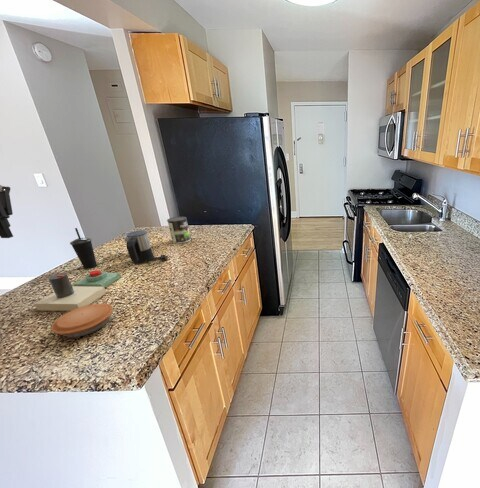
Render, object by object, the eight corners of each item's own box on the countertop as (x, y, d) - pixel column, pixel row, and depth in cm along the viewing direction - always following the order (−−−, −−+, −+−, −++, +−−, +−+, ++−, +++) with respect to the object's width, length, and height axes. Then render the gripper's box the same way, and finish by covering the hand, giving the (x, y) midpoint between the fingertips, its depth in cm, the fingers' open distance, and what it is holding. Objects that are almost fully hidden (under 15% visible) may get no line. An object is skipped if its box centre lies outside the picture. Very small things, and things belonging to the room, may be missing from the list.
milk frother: (135, 257, 137) (127, 231, 131) (169, 252, 144) (162, 226, 138) (130, 269, 125) (121, 240, 120) (168, 262, 132) (161, 235, 126)
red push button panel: (74, 288, 109) (71, 280, 107) (95, 276, 118) (92, 269, 117) (102, 288, 109) (99, 280, 107) (120, 277, 118) (118, 269, 116)
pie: (49, 330, 85) (42, 318, 83) (106, 306, 97) (101, 295, 95) (63, 350, 77) (57, 336, 75) (123, 321, 89) (119, 309, 87)
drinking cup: (100, 261, 133) (86, 224, 125) (100, 267, 127) (86, 228, 120) (80, 266, 128) (65, 227, 121) (80, 271, 123) (63, 232, 115)
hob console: (37, 310, 95) (33, 303, 94) (68, 292, 106) (65, 285, 105) (79, 311, 95) (76, 303, 93) (106, 293, 106) (103, 286, 105)
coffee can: (194, 238, 164) (190, 216, 159) (183, 244, 155) (178, 221, 150) (179, 237, 166) (175, 216, 161) (168, 243, 156) (162, 220, 151)
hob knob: (52, 298, 97) (43, 278, 94) (65, 290, 102) (57, 272, 99) (65, 298, 97) (57, 278, 94) (78, 291, 101) (70, 272, 98)
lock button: (88, 277, 110) (87, 273, 110) (95, 273, 114) (94, 269, 113) (96, 277, 110) (95, 273, 110) (103, 273, 114) (102, 269, 113)
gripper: (-14, 165, 88) (17, 231, 97) (-68, 169, 76) (-27, 244, 85) (8, 165, 88) (37, 231, 97) (-44, 169, 76) (-5, 244, 85)
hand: (7, 237), depth 91 cm, fingers closed
